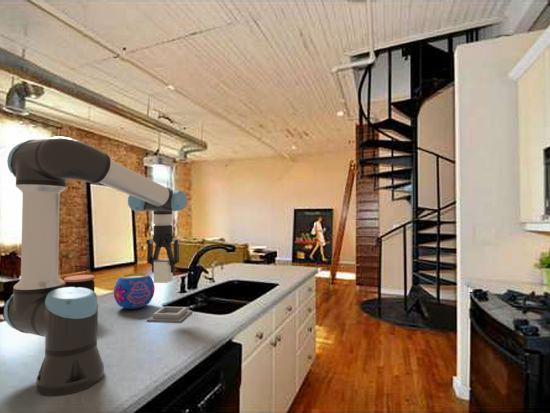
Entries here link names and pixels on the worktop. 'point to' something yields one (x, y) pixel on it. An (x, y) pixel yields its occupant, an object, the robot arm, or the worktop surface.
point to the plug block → (161, 270)
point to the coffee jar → (80, 281)
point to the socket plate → (170, 314)
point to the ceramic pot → (134, 290)
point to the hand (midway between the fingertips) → (163, 280)
